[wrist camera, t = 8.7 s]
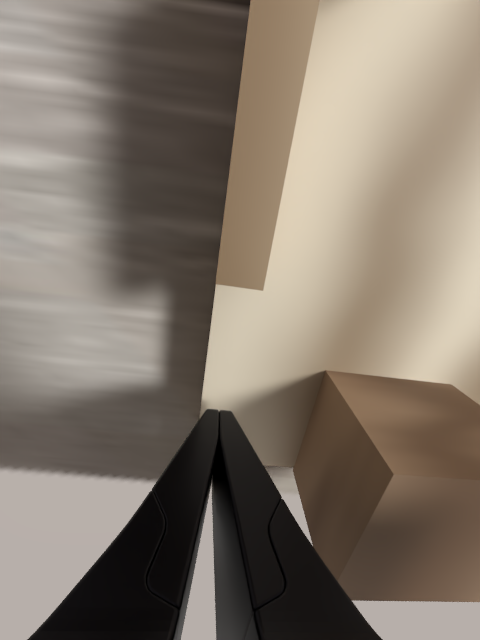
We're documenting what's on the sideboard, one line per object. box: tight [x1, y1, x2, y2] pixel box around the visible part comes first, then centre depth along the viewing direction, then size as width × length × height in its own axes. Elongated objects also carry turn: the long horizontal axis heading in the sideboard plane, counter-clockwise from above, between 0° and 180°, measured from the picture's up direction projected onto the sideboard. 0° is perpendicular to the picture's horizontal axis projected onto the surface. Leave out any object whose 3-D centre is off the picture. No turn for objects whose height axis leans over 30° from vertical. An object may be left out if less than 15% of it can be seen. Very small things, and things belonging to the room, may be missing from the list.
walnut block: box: [293, 370, 480, 602], centre depth 8 cm, size 5×5×4 cm
